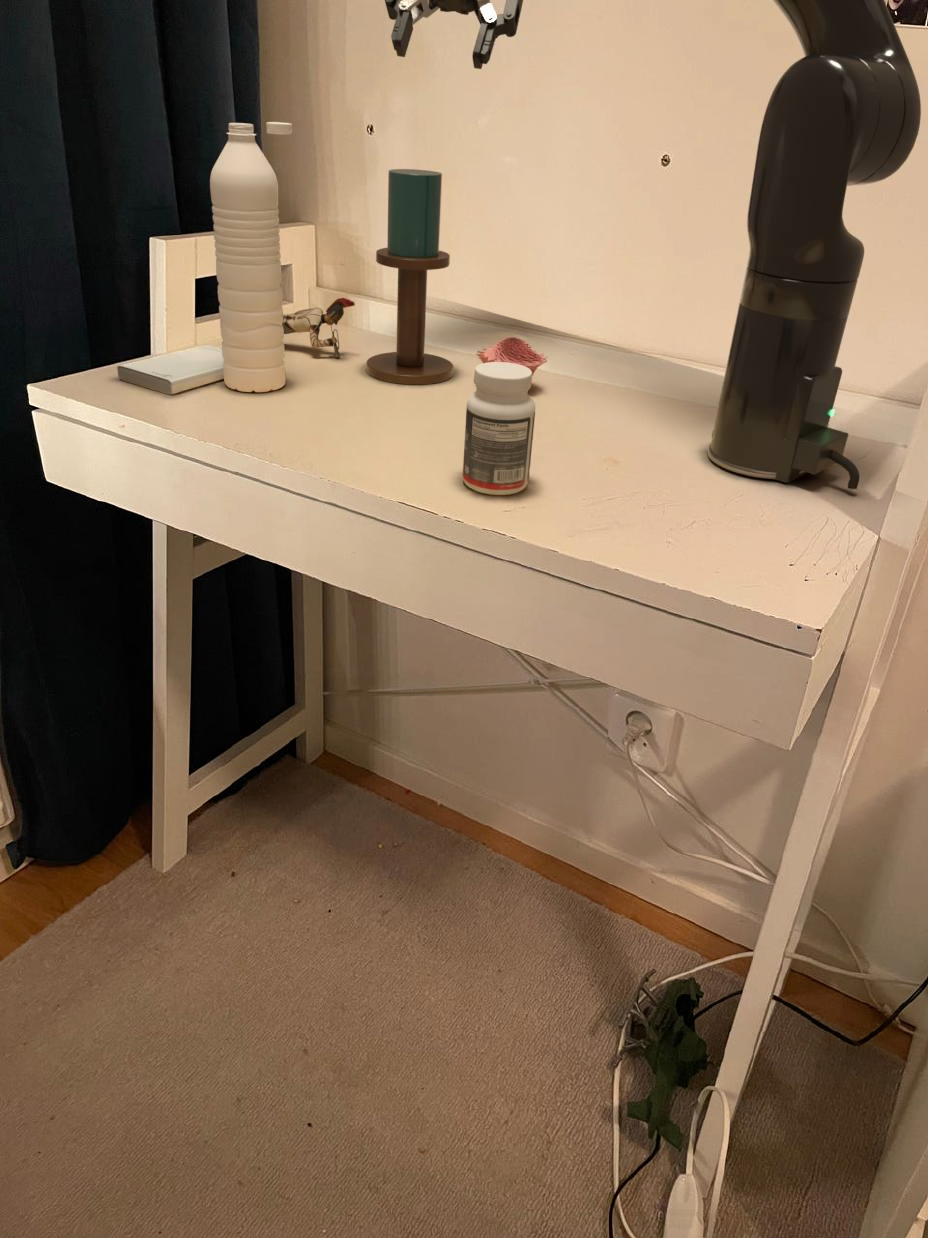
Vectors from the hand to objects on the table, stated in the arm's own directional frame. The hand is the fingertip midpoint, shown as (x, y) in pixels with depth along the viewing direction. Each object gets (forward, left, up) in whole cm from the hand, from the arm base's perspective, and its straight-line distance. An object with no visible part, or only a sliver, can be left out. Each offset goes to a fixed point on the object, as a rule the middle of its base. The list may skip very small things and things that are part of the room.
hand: (437, 56), depth 97 cm
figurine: (+12, +11, -32) cm, 35 cm away
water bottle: (+3, +22, -32) cm, 39 cm away
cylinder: (-3, +6, -18) cm, 20 cm away
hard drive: (+9, +27, -32) cm, 43 cm away
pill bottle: (-32, +23, -32) cm, 51 cm away
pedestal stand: (-3, +6, -31) cm, 32 cm away
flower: (-14, +1, -32) cm, 35 cm away
